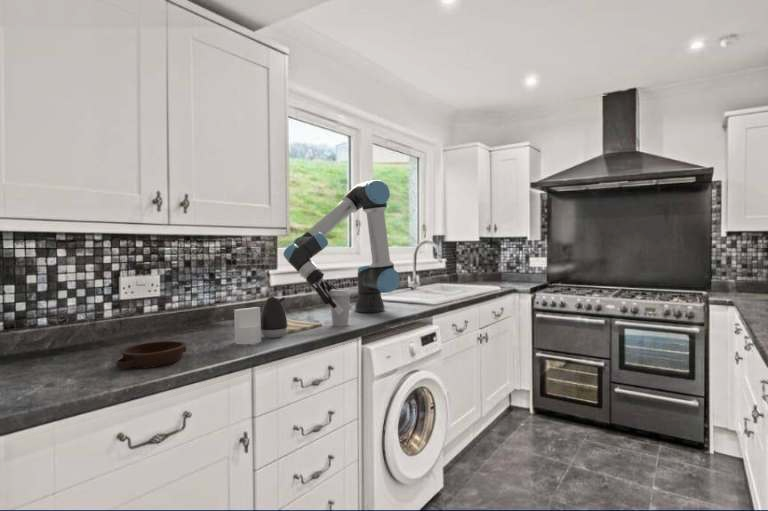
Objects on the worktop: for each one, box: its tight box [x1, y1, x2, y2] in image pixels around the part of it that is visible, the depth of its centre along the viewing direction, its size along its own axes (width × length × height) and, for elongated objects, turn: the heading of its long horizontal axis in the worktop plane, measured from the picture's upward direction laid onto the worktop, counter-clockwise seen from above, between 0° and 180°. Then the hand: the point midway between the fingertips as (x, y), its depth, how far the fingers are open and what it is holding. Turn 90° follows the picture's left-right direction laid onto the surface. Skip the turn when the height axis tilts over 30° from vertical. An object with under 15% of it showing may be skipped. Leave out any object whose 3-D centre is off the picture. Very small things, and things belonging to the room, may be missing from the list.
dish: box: [115, 340, 188, 369], centre depth 136 cm, size 18×22×5 cm
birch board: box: [284, 319, 323, 335], centre depth 189 cm, size 20×20×1 cm
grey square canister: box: [233, 306, 262, 345], centre depth 162 cm, size 9×9×12 cm
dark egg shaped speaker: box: [260, 296, 288, 339], centre depth 170 cm, size 10×10×15 cm
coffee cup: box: [328, 288, 352, 327], centre depth 193 cm, size 10×10×15 cm
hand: (346, 310), depth 192 cm, fingers open, 11 cm apart
